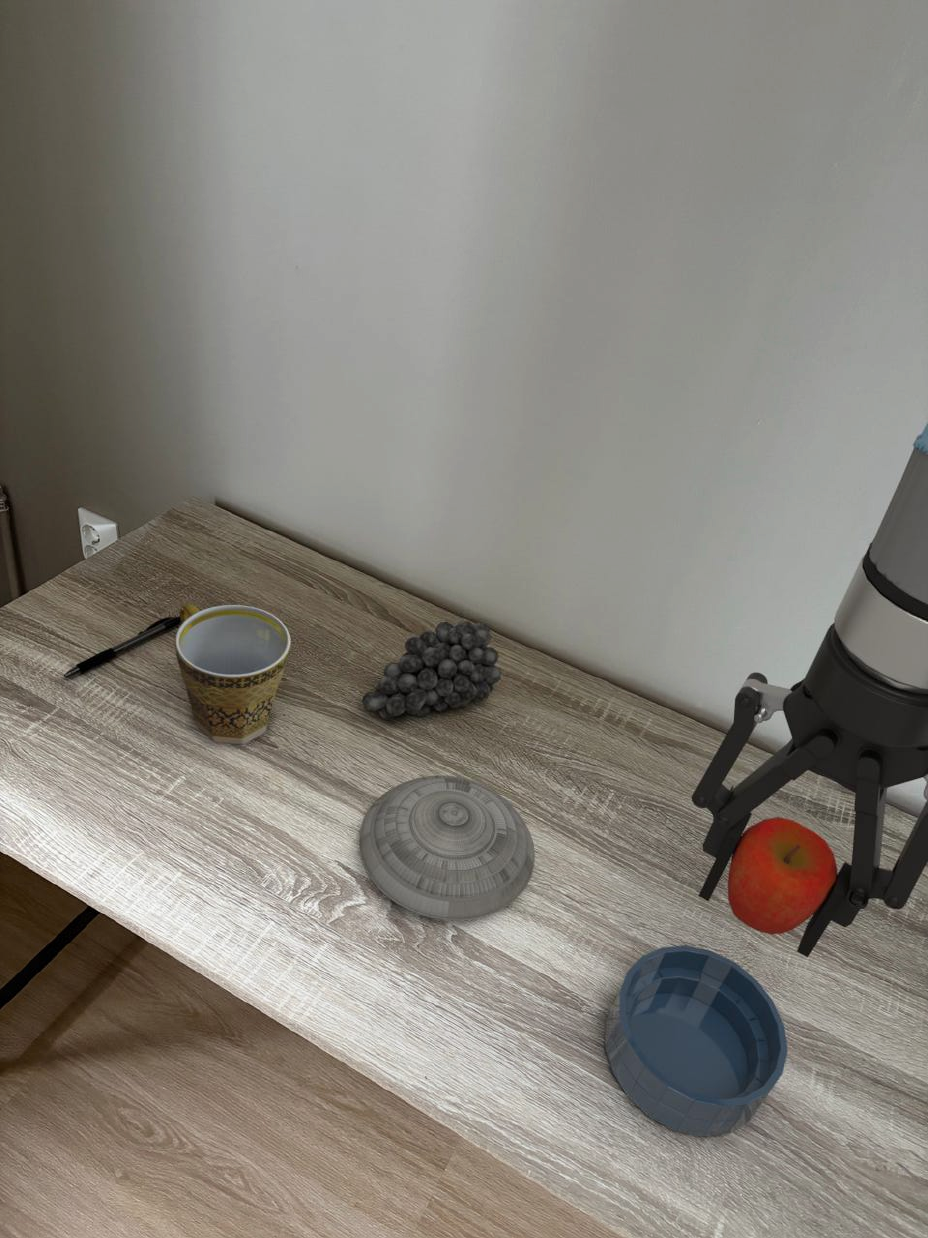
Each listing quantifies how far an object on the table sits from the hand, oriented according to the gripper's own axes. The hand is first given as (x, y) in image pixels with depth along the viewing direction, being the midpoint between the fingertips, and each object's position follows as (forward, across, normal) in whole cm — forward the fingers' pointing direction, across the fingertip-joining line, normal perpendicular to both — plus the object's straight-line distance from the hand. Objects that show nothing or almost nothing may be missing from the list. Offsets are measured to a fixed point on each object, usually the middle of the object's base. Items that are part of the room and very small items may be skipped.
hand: (758, 912), depth 66 cm
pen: (+14, +63, -3) cm, 65 cm away
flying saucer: (+15, +24, -2) cm, 28 cm away
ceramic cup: (+15, +50, -2) cm, 52 cm away
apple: (+1, 0, 0) cm, 1 cm away
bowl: (+15, 0, +3) cm, 15 cm away
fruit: (+15, +36, -16) cm, 42 cm away
